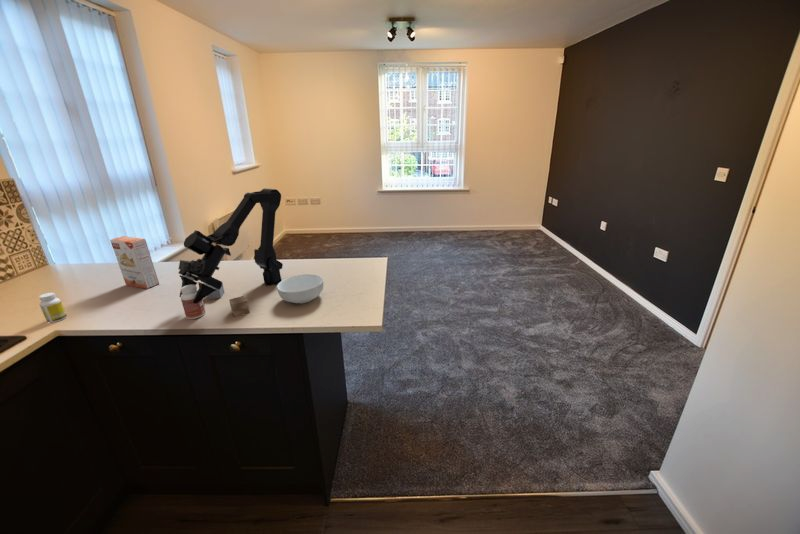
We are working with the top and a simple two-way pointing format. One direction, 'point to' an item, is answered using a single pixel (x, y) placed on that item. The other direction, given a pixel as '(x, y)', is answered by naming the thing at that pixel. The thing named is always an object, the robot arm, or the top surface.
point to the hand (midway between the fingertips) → (187, 300)
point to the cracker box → (135, 261)
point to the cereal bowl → (300, 288)
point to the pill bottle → (191, 302)
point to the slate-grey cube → (216, 293)
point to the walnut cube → (239, 306)
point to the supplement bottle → (52, 308)
